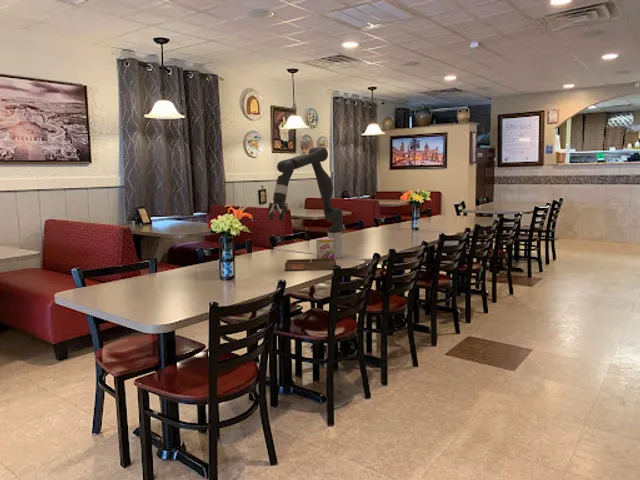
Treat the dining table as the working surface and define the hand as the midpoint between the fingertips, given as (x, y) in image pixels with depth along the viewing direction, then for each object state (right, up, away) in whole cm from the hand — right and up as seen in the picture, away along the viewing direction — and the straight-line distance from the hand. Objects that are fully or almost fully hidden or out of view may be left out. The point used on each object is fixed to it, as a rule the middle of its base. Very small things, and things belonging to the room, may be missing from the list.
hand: (275, 220), depth 292 cm
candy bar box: (+30, -27, +23) cm, 46 cm away
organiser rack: (+21, -29, +12) cm, 37 cm away
